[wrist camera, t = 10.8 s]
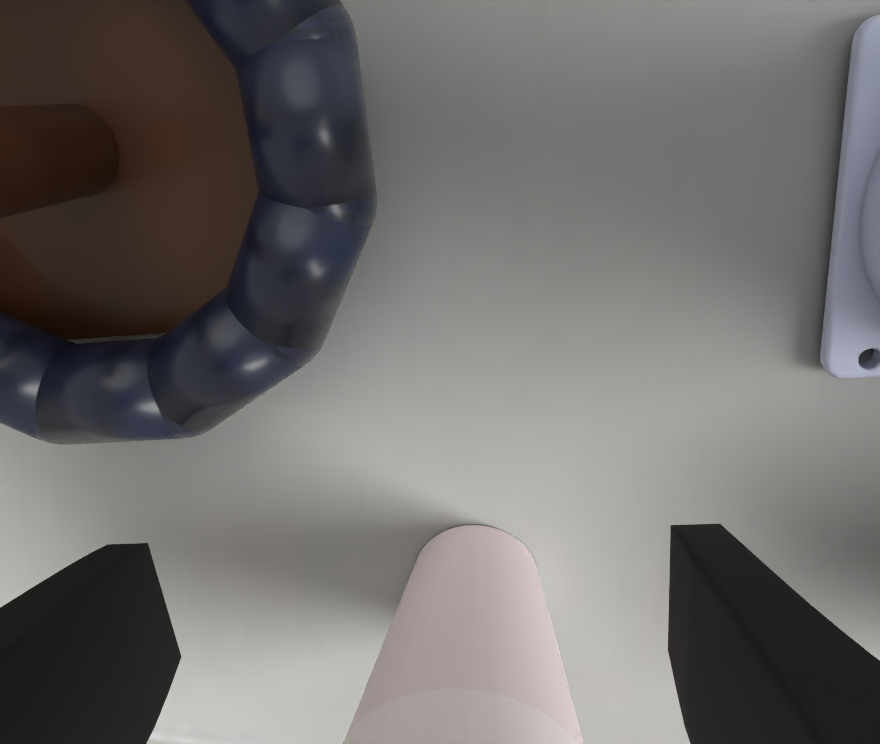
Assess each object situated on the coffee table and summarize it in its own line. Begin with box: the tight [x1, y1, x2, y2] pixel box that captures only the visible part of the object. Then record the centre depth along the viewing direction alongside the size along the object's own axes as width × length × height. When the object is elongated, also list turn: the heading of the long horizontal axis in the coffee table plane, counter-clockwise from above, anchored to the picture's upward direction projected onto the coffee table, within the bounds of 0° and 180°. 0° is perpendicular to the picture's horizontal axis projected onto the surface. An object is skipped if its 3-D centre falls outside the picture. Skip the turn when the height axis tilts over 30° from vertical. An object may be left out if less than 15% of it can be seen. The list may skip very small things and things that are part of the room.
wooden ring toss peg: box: [0, 0, 259, 341], centre depth 14 cm, size 9×9×7 cm
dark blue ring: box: [0, 0, 377, 444], centre depth 15 cm, size 13×13×2 cm
